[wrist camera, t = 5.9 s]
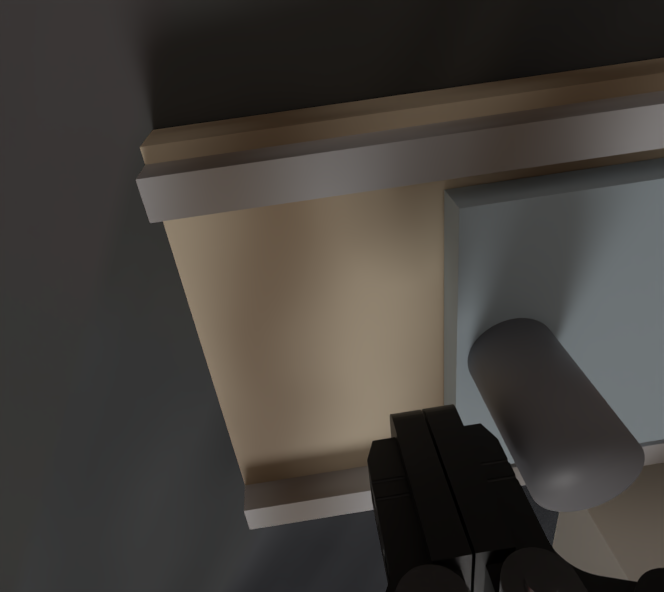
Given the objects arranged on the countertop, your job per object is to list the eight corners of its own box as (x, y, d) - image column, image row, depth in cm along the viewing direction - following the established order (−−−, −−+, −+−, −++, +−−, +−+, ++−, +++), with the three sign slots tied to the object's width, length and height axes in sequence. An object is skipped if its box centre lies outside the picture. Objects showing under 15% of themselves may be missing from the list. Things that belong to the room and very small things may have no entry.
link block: (681, 454, 22) (808, 602, 17) (646, 551, 26) (741, 697, 20) (565, 473, 22) (657, 628, 17) (547, 567, 26) (617, 718, 20)
